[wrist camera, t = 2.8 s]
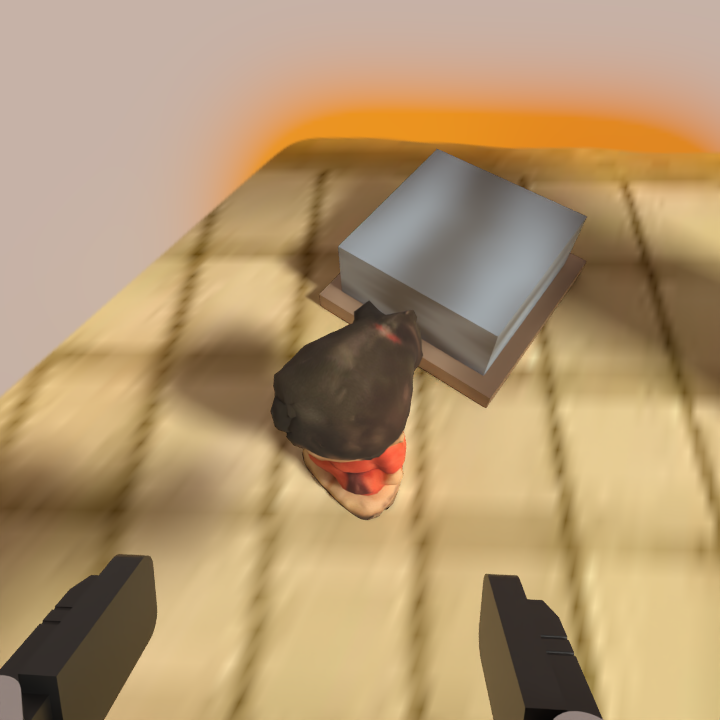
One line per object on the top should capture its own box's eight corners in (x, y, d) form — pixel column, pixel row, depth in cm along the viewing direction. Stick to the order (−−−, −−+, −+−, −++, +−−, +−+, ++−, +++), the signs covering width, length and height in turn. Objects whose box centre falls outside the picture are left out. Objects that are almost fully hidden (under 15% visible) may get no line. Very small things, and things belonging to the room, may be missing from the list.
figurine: (314, 403, 30) (283, 263, 20) (412, 417, 29) (433, 280, 19) (289, 514, 27) (236, 416, 16) (398, 532, 26) (413, 442, 16)
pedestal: (580, 273, 34) (611, 213, 30) (486, 408, 30) (506, 361, 25) (425, 197, 38) (432, 134, 34) (320, 305, 33) (312, 249, 29)
